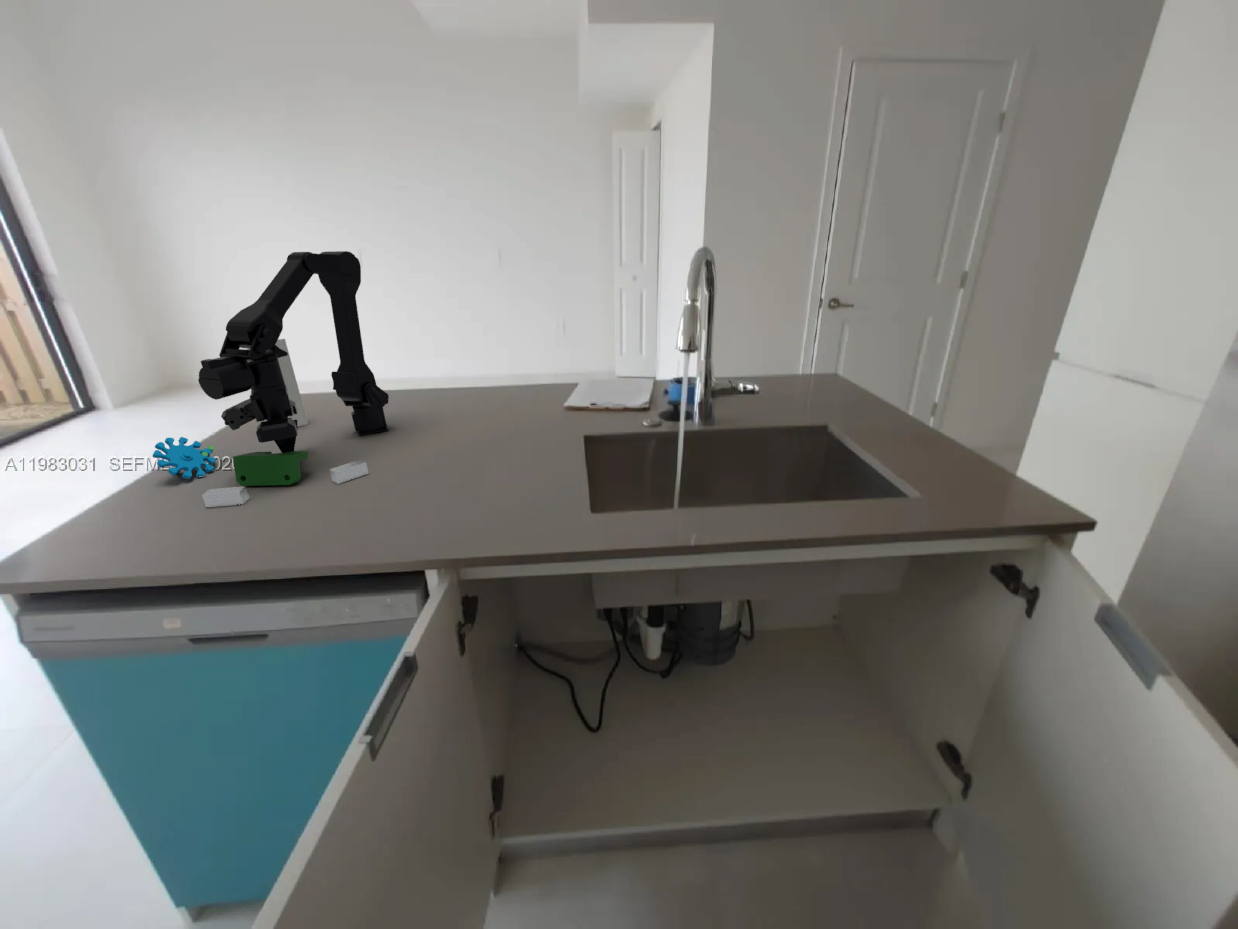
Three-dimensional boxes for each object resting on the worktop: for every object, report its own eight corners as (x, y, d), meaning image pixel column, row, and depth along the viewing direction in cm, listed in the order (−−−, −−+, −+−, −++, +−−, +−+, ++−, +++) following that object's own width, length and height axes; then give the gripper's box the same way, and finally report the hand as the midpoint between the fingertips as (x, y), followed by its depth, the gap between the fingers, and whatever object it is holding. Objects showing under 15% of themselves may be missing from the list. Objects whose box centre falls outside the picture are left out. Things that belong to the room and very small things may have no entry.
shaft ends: (367, 469, 109) (364, 458, 108) (370, 477, 105) (367, 465, 105) (207, 502, 98) (203, 490, 97) (204, 512, 94) (200, 500, 93)
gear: (178, 480, 103) (142, 441, 103) (166, 499, 105) (131, 460, 105) (233, 464, 113) (200, 429, 113) (221, 482, 115) (189, 447, 115)
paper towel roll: (265, 429, 133) (238, 341, 124) (287, 421, 138) (263, 336, 129) (286, 433, 130) (260, 342, 122) (308, 424, 135) (284, 337, 127)
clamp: (306, 495, 109) (318, 454, 107) (287, 503, 103) (300, 458, 101) (248, 473, 108) (260, 431, 107) (226, 479, 102) (238, 434, 101)
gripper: (222, 379, 108) (246, 452, 115) (210, 403, 93) (238, 486, 100) (286, 371, 113) (306, 442, 120) (285, 393, 98) (307, 472, 104)
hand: (289, 459), depth 111 cm, fingers closed
